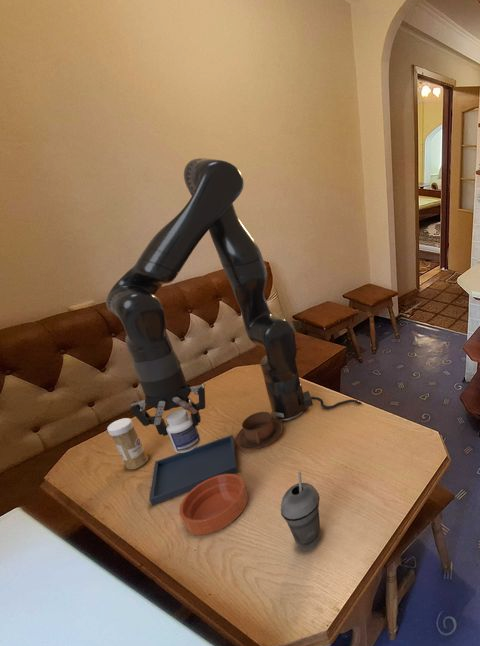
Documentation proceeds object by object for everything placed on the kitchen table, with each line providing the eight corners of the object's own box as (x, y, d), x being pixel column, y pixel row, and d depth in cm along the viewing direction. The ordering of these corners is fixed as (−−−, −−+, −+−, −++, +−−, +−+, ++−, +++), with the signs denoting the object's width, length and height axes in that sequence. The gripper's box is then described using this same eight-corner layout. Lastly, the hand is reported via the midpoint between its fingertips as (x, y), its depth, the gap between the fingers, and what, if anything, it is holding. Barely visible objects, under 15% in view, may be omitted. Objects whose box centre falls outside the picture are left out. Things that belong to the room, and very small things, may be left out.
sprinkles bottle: (147, 465, 93) (129, 425, 88) (124, 473, 91) (104, 432, 86) (149, 453, 97) (132, 414, 92) (127, 460, 95) (108, 421, 89)
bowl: (245, 478, 90) (241, 465, 89) (250, 516, 81) (246, 503, 79) (186, 502, 84) (180, 489, 82) (184, 547, 75) (177, 533, 73)
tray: (234, 440, 102) (232, 434, 101) (237, 472, 92) (235, 466, 91) (157, 467, 93) (155, 461, 92) (152, 506, 83) (149, 500, 82)
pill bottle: (206, 440, 91) (195, 410, 87) (184, 456, 86) (172, 425, 82) (191, 435, 92) (179, 405, 88) (169, 450, 88) (156, 419, 84)
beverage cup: (297, 524, 80) (281, 459, 72) (331, 522, 80) (318, 457, 72) (285, 559, 73) (265, 491, 65) (321, 556, 74) (306, 488, 66)
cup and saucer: (290, 437, 103) (287, 420, 101) (245, 460, 95) (239, 443, 93) (275, 416, 111) (271, 401, 108) (231, 437, 103) (226, 420, 101)
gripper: (113, 390, 74) (141, 451, 80) (198, 369, 81) (217, 426, 88) (119, 372, 79) (145, 430, 86) (198, 354, 87) (216, 409, 94)
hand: (181, 428), depth 87 cm, fingers closed on pill bottle, 5 cm apart
